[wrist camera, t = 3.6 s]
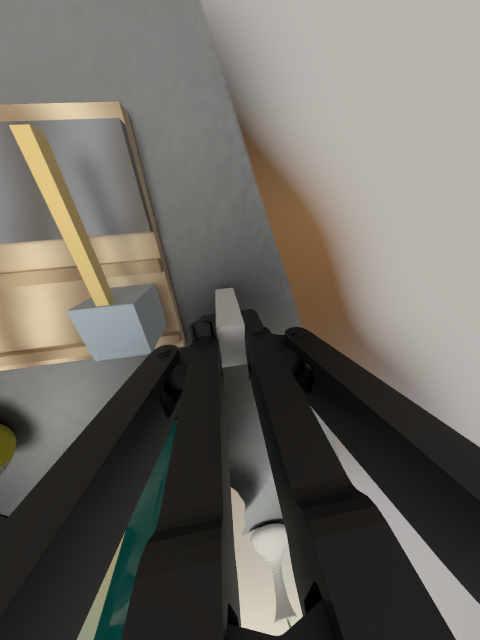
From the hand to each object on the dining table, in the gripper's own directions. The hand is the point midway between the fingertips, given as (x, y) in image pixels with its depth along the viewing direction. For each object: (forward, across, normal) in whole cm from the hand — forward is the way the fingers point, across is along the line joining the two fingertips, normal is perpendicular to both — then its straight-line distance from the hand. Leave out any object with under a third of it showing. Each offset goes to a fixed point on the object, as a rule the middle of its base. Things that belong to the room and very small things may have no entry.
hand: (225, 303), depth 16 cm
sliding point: (+2, -8, +4) cm, 9 cm away
